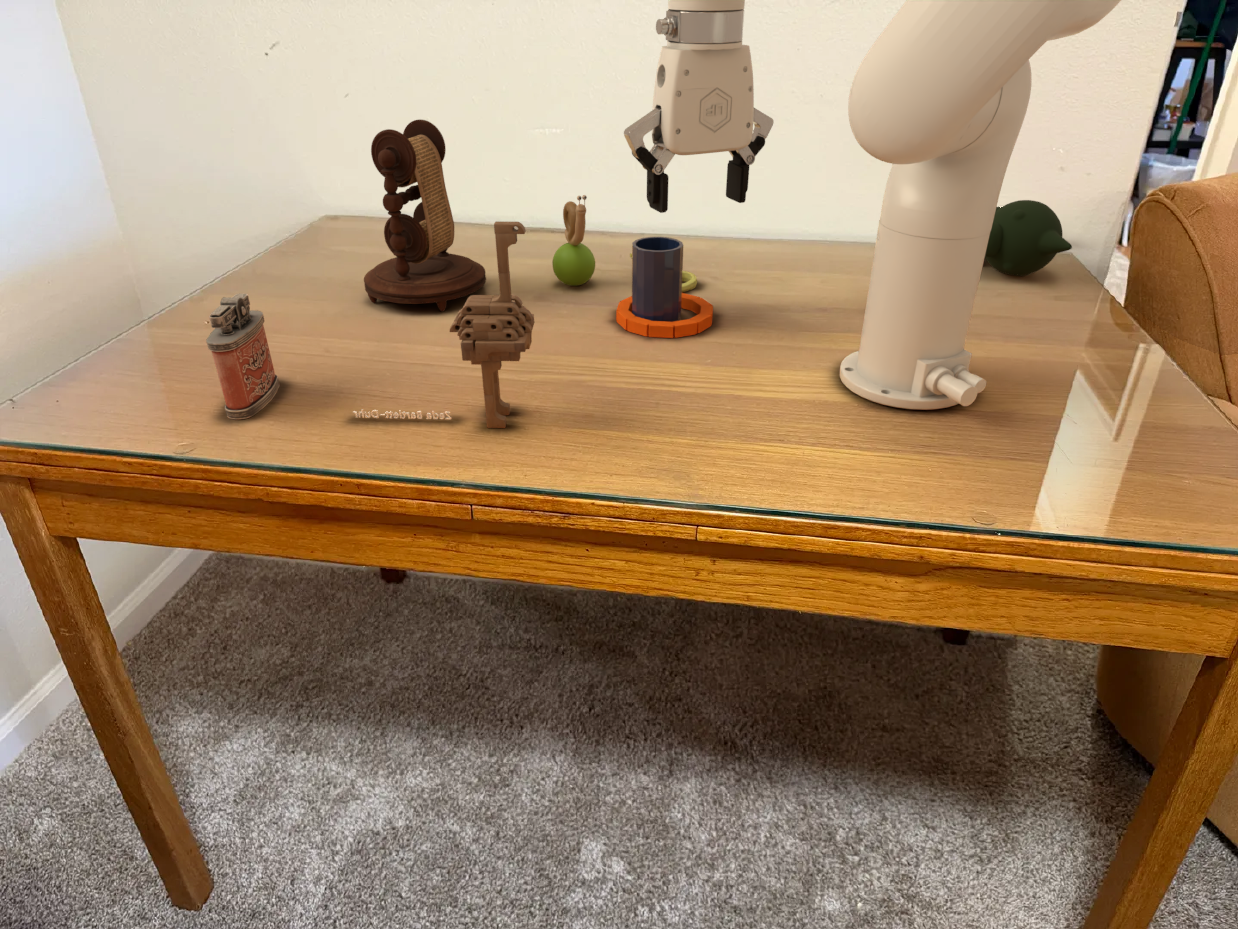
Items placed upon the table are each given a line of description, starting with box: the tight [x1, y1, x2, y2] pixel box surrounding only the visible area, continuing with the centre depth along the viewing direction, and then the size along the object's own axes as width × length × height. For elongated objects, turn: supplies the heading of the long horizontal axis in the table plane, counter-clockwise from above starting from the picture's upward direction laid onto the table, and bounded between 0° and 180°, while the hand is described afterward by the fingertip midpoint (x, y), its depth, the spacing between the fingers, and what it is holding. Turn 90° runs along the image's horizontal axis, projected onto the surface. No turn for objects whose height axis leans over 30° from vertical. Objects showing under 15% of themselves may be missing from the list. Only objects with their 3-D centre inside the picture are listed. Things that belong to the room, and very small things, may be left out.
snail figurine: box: [551, 194, 596, 287], centre depth 105 cm, size 5×6×12 cm
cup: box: [631, 236, 684, 322], centre depth 96 cm, size 6×6×9 cm
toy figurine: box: [984, 199, 1073, 277], centre depth 114 cm, size 9×19×25 cm
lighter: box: [205, 292, 281, 420], centre depth 78 cm, size 8×3×10 cm, turn 178°
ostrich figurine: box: [352, 221, 535, 429], centre depth 73 cm, size 17×7×18 cm, turn 88°
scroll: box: [363, 119, 487, 312], centre depth 101 cm, size 15×15×20 cm
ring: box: [615, 292, 714, 339], centre depth 98 cm, size 11×11×1 cm
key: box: [629, 253, 698, 293], centre depth 109 cm, size 7×12×2 cm, turn 36°
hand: (697, 204), depth 93 cm, fingers open, 9 cm apart
